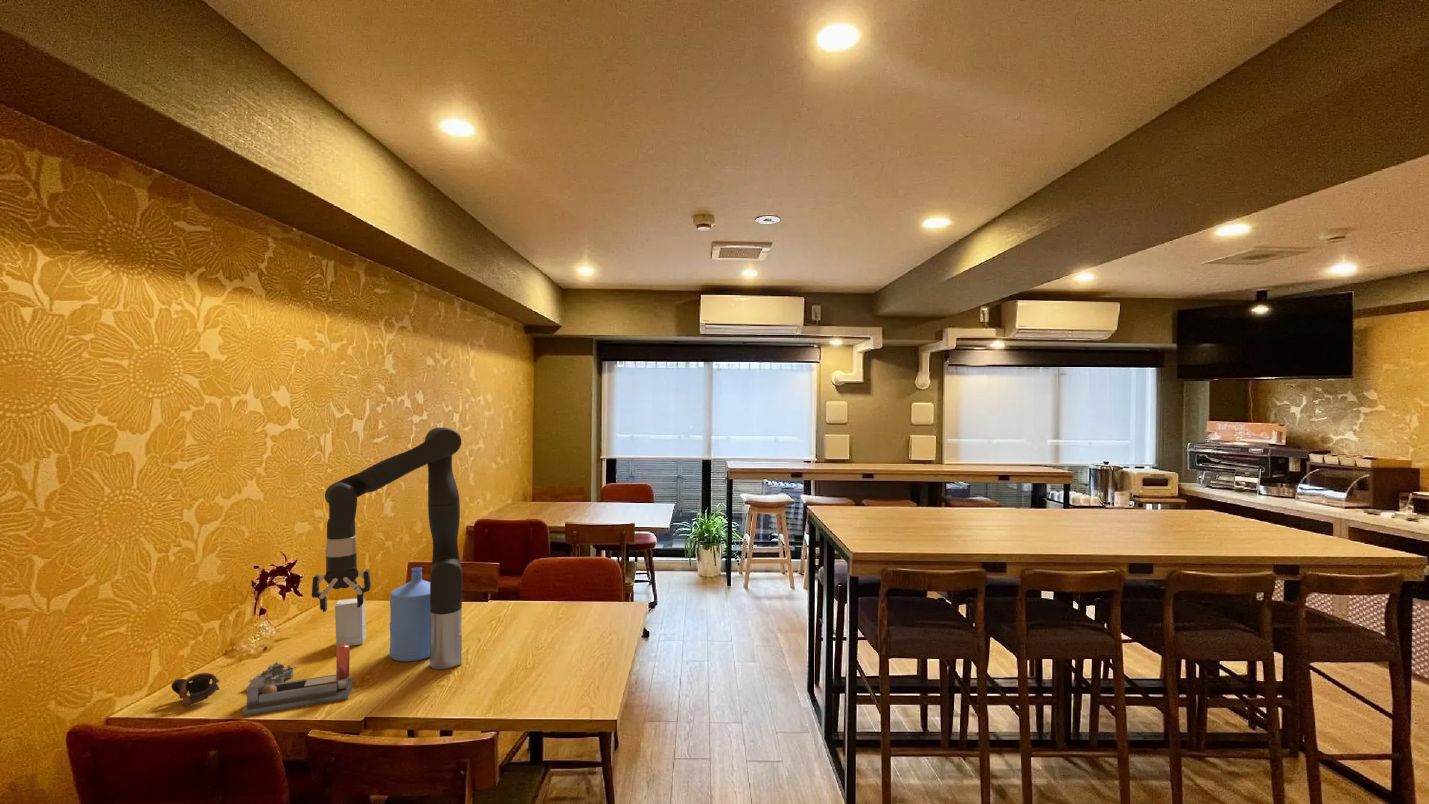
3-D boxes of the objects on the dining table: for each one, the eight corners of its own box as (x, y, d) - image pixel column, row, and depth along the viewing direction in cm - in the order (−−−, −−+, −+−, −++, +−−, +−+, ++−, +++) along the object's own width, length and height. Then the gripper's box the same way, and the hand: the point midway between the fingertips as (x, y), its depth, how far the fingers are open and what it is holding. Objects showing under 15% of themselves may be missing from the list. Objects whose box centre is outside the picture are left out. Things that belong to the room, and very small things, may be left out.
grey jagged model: (277, 674, 185) (278, 660, 185) (298, 676, 183) (299, 662, 184) (244, 690, 174) (245, 676, 174) (266, 692, 173) (267, 678, 173)
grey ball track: (353, 682, 179) (353, 660, 179) (347, 699, 169) (348, 676, 169) (254, 697, 169) (254, 674, 169) (242, 716, 159) (242, 692, 159)
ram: (350, 681, 176) (350, 642, 176) (348, 687, 172) (348, 647, 172) (307, 688, 172) (307, 648, 172) (303, 694, 168) (304, 653, 168)
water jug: (421, 664, 192) (421, 576, 192) (378, 660, 195) (378, 573, 195) (451, 645, 207) (452, 563, 207) (411, 641, 210) (412, 561, 210)
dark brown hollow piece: (228, 691, 174) (228, 672, 171) (204, 721, 166) (203, 701, 162) (183, 683, 172) (181, 663, 169) (156, 713, 164) (154, 693, 161)
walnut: (278, 694, 169) (278, 681, 169) (275, 700, 165) (275, 686, 165) (262, 696, 167) (262, 683, 167) (259, 702, 164) (259, 689, 164)
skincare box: (366, 638, 212) (366, 596, 212) (362, 645, 206) (363, 601, 206) (338, 641, 209) (339, 598, 209) (334, 648, 203) (334, 604, 203)
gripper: (371, 547, 180) (372, 601, 180) (315, 552, 174) (316, 608, 174) (367, 553, 173) (368, 609, 173) (309, 558, 167) (309, 616, 167)
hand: (342, 608), depth 173 cm, fingers open, 8 cm apart
